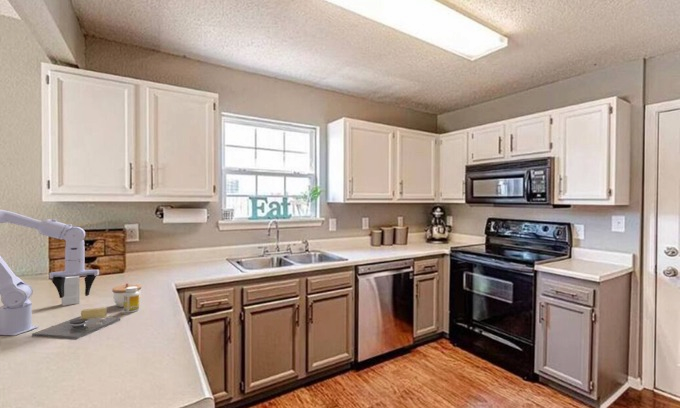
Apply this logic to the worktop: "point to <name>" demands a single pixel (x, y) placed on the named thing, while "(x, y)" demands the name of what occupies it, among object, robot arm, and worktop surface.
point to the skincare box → (71, 291)
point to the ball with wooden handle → (89, 315)
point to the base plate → (76, 328)
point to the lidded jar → (121, 290)
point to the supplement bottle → (131, 300)
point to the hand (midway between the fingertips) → (74, 296)
